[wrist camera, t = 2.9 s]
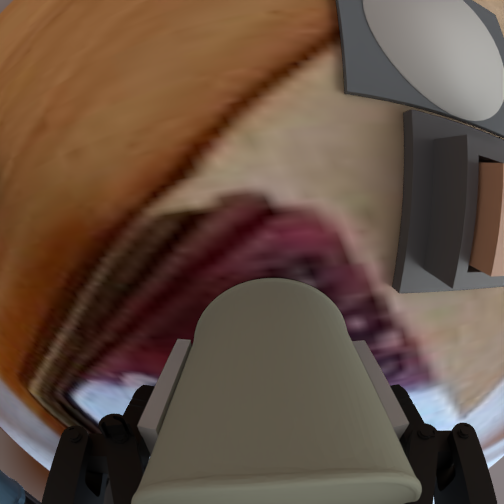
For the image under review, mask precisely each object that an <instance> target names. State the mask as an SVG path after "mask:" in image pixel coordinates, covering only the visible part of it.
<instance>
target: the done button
mask: <svg viewBox="0 0 504 504" xmlns="http://www.w3.org/2000/svg"><path fill="white" fill-rule="evenodd" d="M469 265H470V266H472V267H474V268H476V269H478V270H480V271H482V272H483V273H485V274H487V275H489V276H491V277H493V276H504V163H485V162H479V175H478V197H477V210H476V220H475V229H474V236H473V243H472V249H471V255H470V261H469Z"/></svg>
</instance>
